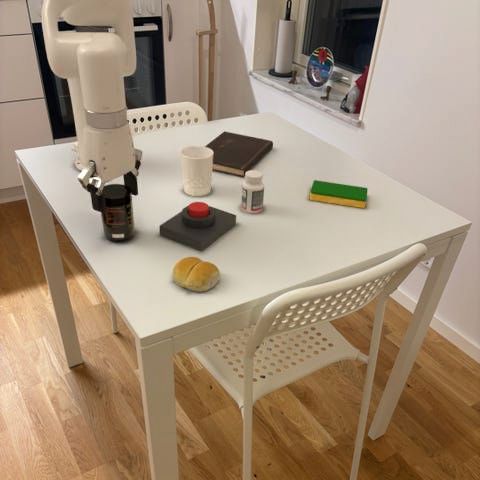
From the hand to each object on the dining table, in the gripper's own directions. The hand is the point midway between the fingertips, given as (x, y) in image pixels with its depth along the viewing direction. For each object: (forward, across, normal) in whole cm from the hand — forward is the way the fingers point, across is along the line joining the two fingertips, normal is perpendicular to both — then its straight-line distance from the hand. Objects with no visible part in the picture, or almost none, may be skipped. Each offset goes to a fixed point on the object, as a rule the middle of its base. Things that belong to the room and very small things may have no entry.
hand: (116, 202), depth 106 cm
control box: (+8, -12, +12) cm, 19 cm away
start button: (+4, -12, +12) cm, 18 cm away
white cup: (+8, -28, +1) cm, 29 cm away
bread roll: (+9, +4, +23) cm, 24 cm away
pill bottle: (+8, -28, +17) cm, 34 cm away
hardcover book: (+8, -52, -3) cm, 53 cm away
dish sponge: (+8, -46, +32) cm, 57 cm away
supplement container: (+8, 0, 0) cm, 8 cm away
